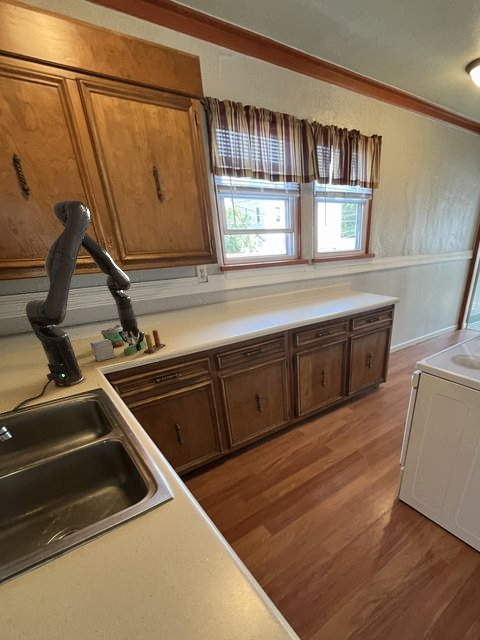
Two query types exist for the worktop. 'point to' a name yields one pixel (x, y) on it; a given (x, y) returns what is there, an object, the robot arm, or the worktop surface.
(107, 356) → the medicine box
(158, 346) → the rod stand
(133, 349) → the bar
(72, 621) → the worktop surface
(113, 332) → the food container
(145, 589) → the worktop surface
